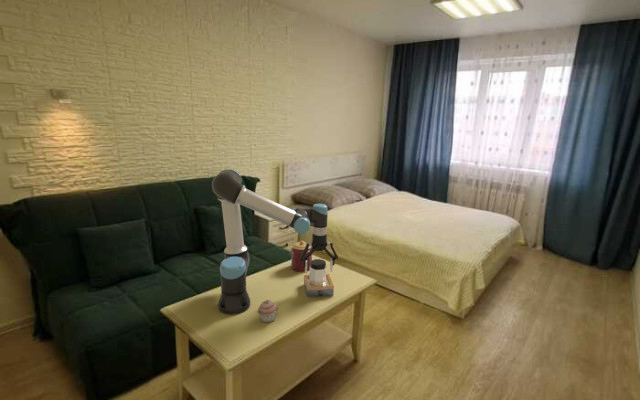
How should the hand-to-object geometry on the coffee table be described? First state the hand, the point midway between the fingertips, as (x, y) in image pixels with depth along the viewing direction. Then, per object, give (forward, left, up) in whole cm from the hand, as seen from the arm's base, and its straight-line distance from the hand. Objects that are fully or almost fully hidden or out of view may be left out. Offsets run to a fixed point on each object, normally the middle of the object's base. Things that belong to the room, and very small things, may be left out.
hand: (318, 271), depth 176 cm
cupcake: (-27, -24, -11) cm, 38 cm away
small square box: (0, 0, -11) cm, 11 cm away
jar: (0, 0, -7) cm, 7 cm away
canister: (-6, +29, -11) cm, 32 cm away
